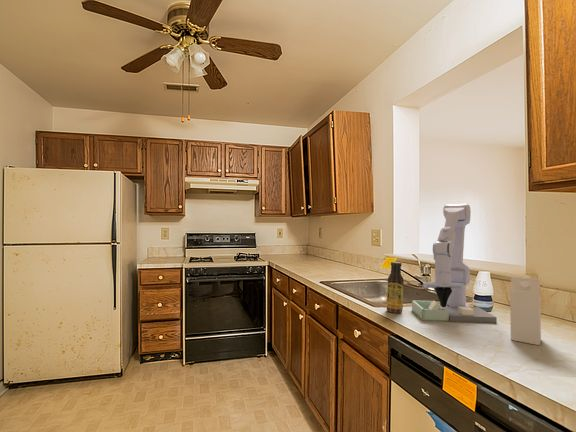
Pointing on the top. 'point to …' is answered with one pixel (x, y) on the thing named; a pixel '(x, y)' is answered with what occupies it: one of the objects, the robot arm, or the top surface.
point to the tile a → (434, 305)
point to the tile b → (465, 311)
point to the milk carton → (525, 310)
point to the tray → (429, 311)
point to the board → (477, 317)
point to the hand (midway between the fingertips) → (443, 306)
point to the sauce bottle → (395, 289)
